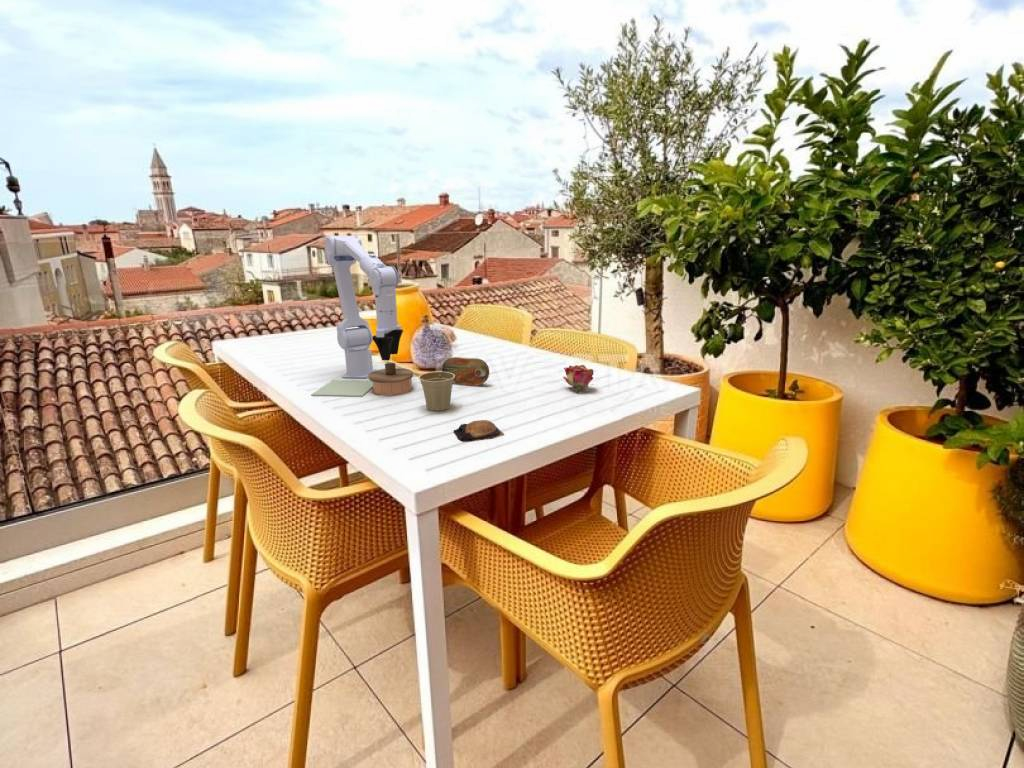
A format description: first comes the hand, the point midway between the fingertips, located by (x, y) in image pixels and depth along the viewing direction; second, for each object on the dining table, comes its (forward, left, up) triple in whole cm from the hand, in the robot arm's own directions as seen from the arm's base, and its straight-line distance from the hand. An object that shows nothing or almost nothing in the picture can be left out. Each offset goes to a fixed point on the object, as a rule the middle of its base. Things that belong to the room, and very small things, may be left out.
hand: (390, 357), depth 145 cm
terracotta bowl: (0, 0, -10) cm, 10 cm away
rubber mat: (0, -14, -10) cm, 17 cm away
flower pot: (+15, +17, -10) cm, 25 cm away
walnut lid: (0, 0, -6) cm, 6 cm away
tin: (-7, +21, -10) cm, 24 cm away
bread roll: (+33, +30, -11) cm, 46 cm away
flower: (-3, +55, -10) cm, 56 cm away
